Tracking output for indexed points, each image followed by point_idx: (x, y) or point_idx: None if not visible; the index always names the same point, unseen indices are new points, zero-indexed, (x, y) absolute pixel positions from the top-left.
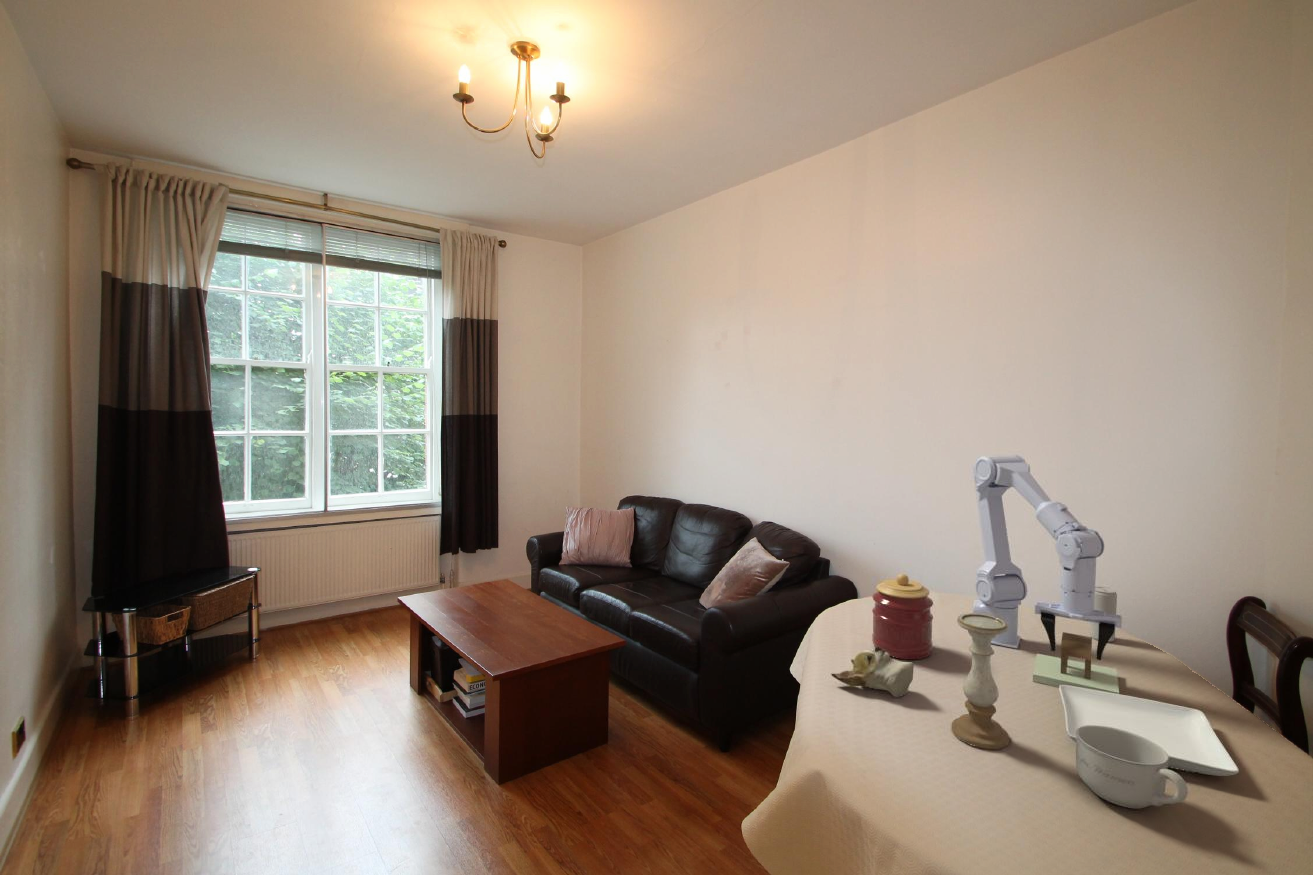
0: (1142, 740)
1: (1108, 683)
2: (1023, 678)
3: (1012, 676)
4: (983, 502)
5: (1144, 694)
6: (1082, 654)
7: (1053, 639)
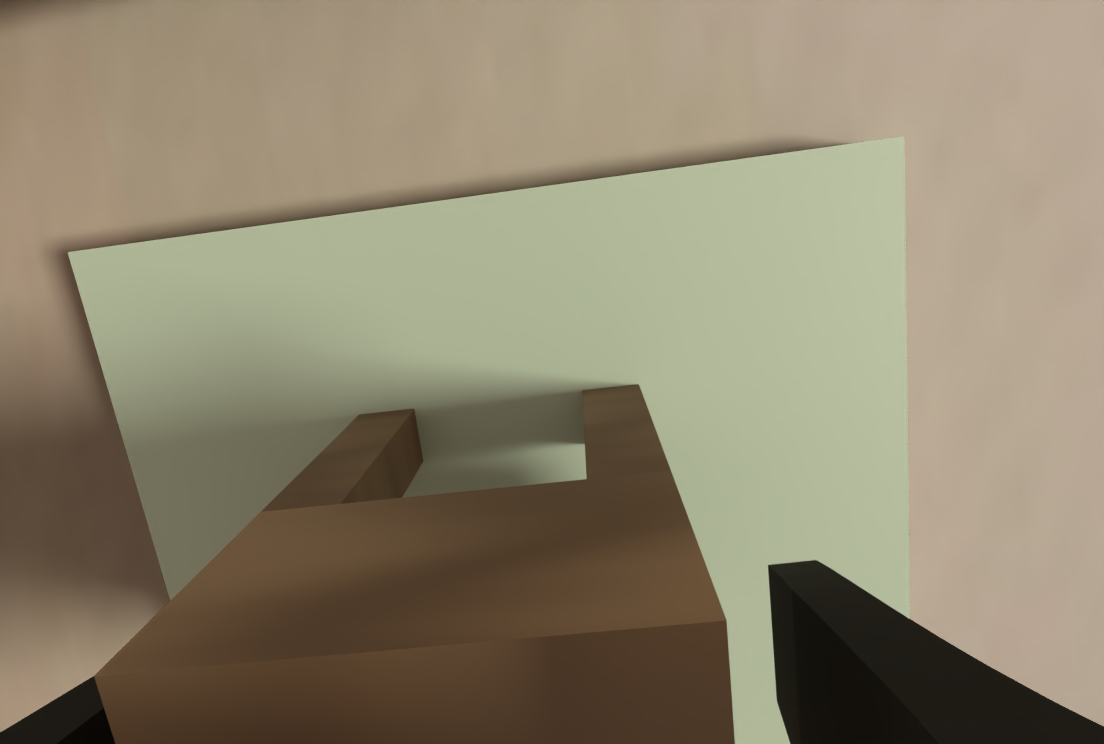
0: None
1: (205, 433)
2: (957, 158)
3: (1069, 130)
4: None
5: (11, 533)
6: (356, 532)
7: (884, 658)
